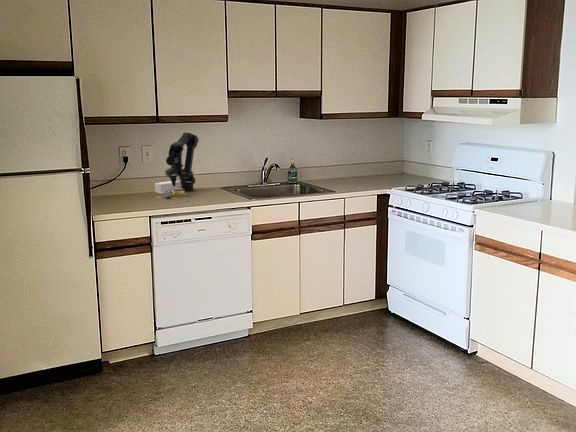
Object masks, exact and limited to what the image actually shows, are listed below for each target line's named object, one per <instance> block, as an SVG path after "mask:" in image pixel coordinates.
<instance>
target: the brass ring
mask: <svg viewBox="0 0 576 432" xmlns="http://www.w3.org/2000/svg"><path fill="white" fill-rule="evenodd" d="M171 194H172V195H174V196H182V195H184V194H186V193H185V192H184V190H183V188H182V189H176V190H172V192H171Z"/></svg>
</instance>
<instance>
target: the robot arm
mask: <svg viewBox="0 0 576 432" xmlns="http://www.w3.org/2000/svg"><path fill="white" fill-rule="evenodd" d="M199 139H200V138H199V137H198V136H197V135H195V134H193V133H191V132H183V133H182V135H181V136H180V138H179V139H178V140H177V141H175V142H173V143H171V145H170V146H169V150H168V156H167V157H166V158H165V162H166V164H167V165H168V166H170V167H169V168H167V169H166V170H165V171H164V172H165V176H166V177H168V178H169V179H170V181H171V182H172V184H173V187H175V184H176V181H177V177H178V179H179V181H181V187H182V189H183V190H184V193H185V192H186V193H187V192H193V191H194V184H196V178H195V176H194V172H193V170H192V167H193V160H194V154H195V153H194V152H195V149H196V147H197V146H198V143H199ZM184 146H186V153H185V161H184V164H183V162H182V161H183V160H182V156H183V154H182V153H183V151H184ZM183 167H184V168H183Z"/></svg>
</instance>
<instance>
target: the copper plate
mask: <svg viewBox="0 0 576 432" xmlns="http://www.w3.org/2000/svg"><path fill="white" fill-rule="evenodd" d="M190 197H191V198H192V197H194V195H193V194H187V193H185V194H184V195H182V196H174V195H172V193H171V199H166V196H165V194H163V195H158V196H156V198H158V199H162V200H167V201H171V200H172V201H173V200H180V199H185V198H190Z"/></svg>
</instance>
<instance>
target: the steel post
mask: <svg viewBox="0 0 576 432" xmlns="http://www.w3.org/2000/svg"><path fill="white" fill-rule="evenodd" d="M171 194H172V192H171V191H170V190H166V191H165V193H164V195H165V196H166V199H171ZM166 199H165V200H166Z"/></svg>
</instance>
